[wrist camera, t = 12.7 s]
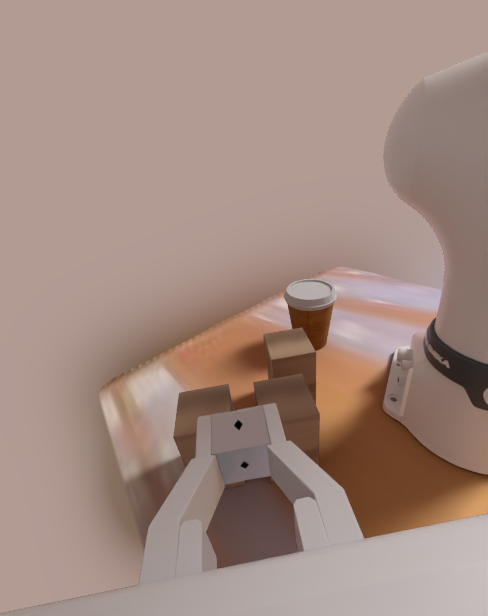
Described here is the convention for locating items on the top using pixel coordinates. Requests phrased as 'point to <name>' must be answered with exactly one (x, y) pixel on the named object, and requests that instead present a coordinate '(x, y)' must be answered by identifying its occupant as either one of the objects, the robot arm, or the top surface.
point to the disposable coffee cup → (311, 308)
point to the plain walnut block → (194, 407)
